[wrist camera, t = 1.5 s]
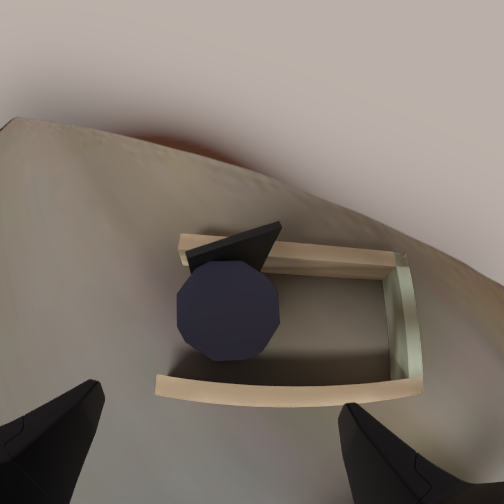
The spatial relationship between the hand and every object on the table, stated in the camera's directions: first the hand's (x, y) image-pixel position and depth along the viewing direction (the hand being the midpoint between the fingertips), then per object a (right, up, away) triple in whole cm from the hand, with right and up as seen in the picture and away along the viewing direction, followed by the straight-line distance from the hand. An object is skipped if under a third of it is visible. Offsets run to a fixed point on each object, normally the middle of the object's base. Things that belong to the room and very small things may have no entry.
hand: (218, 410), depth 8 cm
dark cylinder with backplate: (0, -1, +14) cm, 14 cm away
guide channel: (+5, -1, +14) cm, 15 cm away
